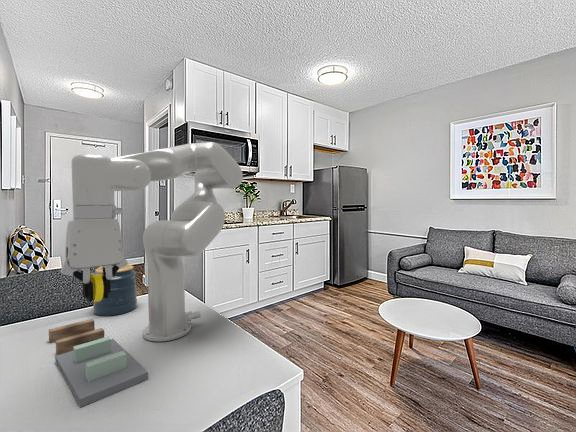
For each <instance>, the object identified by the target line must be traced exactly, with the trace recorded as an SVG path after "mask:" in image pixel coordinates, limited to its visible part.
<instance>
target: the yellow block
mask: <svg viewBox="0 0 576 432" xmlns="http://www.w3.org/2000/svg"><path fill="white" fill-rule="evenodd" d="M103 275H104V273H103V272H95V271H94V272H90V279H91V282H92V283H93V300H92V301H91V302H93V303H94V302H98V301H101V300H102V298H103V292H104V285H103V279H102V276H103Z"/></svg>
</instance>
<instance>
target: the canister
mask: <svg viewBox="0 0 576 432" xmlns="http://www.w3.org/2000/svg"><path fill="white" fill-rule="evenodd" d="M114 265H115V264H114ZM134 267H135V266H134V265H132V264H130V263H129V262H128V264H127V265H126V266H125V267H123V268H121V269H119V270H118V271H117V272H116V273H115V274H114V275H113V276H112V279H110V289H111V291H110V293H108V298H102V300H101V301H98V302H93V305H92V307H93V312H94V314H95V315H97V316H101V317H102V316H103V317H104V316H105V317H106V316H110V317H111V316H117V315H122V314H123V315H124V314H125V313H129V312H132V311H133V310H135V309H136V308H137V303H138V299H137V281H136V278H135V277H136V275H137V272H136V271H134ZM94 272H102V266H100V267H96V269H95V271H94Z"/></svg>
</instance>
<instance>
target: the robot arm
mask: <svg viewBox="0 0 576 432" xmlns="http://www.w3.org/2000/svg"><path fill="white" fill-rule="evenodd" d="M191 173H194V191H193V193H192V194H191V195H190V196H189V197H187V198H186V199H185V200H184V201H183V202H181V204H179V205H178V206H177V207H176V208H175V209H174V210H173V211H172V214H171V218H170V220H168V219H166V220H165V219H164V220H163V219H162V220H156V221H153V222H151V223H150V224H148V225H147V226H146V227H145V229H144V231H143V234H142V243H143V248H144V252H145V258H146V265H147V295H148V296H147V297H148V298H147V300H148V325H147V326H146V327H144V329H143V330H142V337H143V338H144V339H145V340H147V341H150V342H158V343H159V342H160V343H161V342H168V341H173V340H177V339H179V338H181V337H183V336H186V335H187V334H188V333H189V332H190V331H191V328H192V325H191V323H190V322H191V321H192V320H196V319H200V318H201V316H202V315H201V311H200V310H197V311H195V312H193V311H191V310H190V311H186V296H185V294H186V293H185V291H186V290H185V277H186V276H185V266H184V263H183V260H182V258H181V257H191V258H192V257H197V256H198V255H200V254H202V252H204V251H205V250H206V248H207V247H208V246H209V245H210V244H211V243H212V242H213V241H214V239H216V237H217V236H218V235H219V234H220V233H221V230H222V229H223V227H224V224H225V220H226V213H225V210H224V208H223V206H222V205H221V204H220V203H218V201H217V197H216V196H215V194H214V189H235V188H237V187H239V186H240V185H241V184H242V182H243V177H244V176H243V170H242V168H241V166H240V164H239V163H238V162H237V161H236V160H235V159H234V158H233V157H232V155H231V154H229V152H228V151H227V150H226V149H225V148H223V147H222V146H221V145H220V144H219V143H217V142H214V141H204V142H196V143H195V142H193V143H185V144H181V145H175V146H171V147H165V148H158V149H154V150H149V151H145V152H140V153H135V154H134V153H133V154H128V155H123V156H116V157H108V156H105V155H100V154H86V153H85V154H84V153H83V154H76V155H74V156H73V157H72V159H71V188H72V189H71V190H72V192H71V193H72V194H71V195H72V218H73V220H68V223H67V226H66V227H67V228H66V232H65V233H66V234H65V246H64V247H65V254H64V262H63V264H62V267H61V268H60V271H59V272H60V274H62V275H65V276H69V277H74V278H76V279H77V280H79V281H80V282H82V284H81V285H82V297H83V298H84V299H85V300H87V301H88V302H89V303H90V302H93V301H92V300H93V283H92V282H91V279H90V273H91V268H99V267H100V266H102V272H103V273H104V275H103V276H102V279H103V285H104V292H103V298H108V293H110V291H111V289H110V279H112V276H113V275H114V274H115V273H116V272H117V271H118V270H119V269H121V268H123V267H125V266H126V265H127V264H128V263H129V262H128V260H127V259H126V256H125V254H124V245H123V237H122V230H121V226H120V222H119V219H116V218H117V217H116V216H117V215H122V213H123V210H122V208H121V207H117V206H116V205H115V192H135V191H137V192H138V191H142V190H143V189H145V188H147V186H149V184H150V182H158V181H159V182H160V181H168V180H173V179H176V178H179V177H182V176H184V175H185V176H186V175H188V174H191ZM114 264H115V265H114Z"/></svg>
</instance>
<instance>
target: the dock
mask: <svg viewBox="0 0 576 432" xmlns="http://www.w3.org/2000/svg"><path fill="white" fill-rule="evenodd" d="M54 358H55V365H57V367H58V370H59V371H60V373H61V375H62V377H63V378H64V381H65V382H66V384H67V386H68V388H69V390H70V391H71V393H72V395H73V397H74V399H75V400H76V402H77V404H78V406H79V407H80V408H82V407H84V406H87V405H90V404H92V403H94V402H97V401H99V400H101V399H104V398H106V397H108V396H110V395H114V394H115V393H118V392H120V391H123V390H125V389H127V388H130V387H132V386H135V385H137V384H139V383H142V382H144V381H147V380H149V371H148V370H147V369H146V368H145V367H143V366H142V365H141V364H140V362H138V361H137V360H136V359H135V357H133V356H132V355H131V354H130V353H129V352H128V351H127V350H126V349H124V347H122V346H121V345H120V344H119V343H118V342H117V341H116V340H115V339H114V338H110V337H109V336H104V338H101V339H98V340H94V341H91V342H88V343H84V344H81V345H77V346H74V347H73V351H70V352H67V353H64V354H60V355H57V354H56V355H55V356H54Z"/></svg>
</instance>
